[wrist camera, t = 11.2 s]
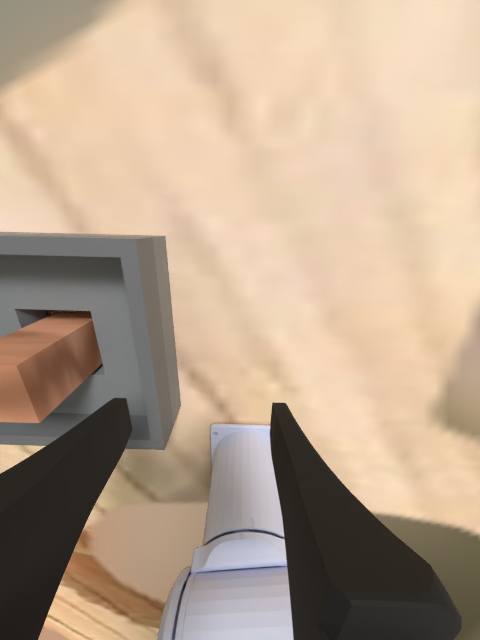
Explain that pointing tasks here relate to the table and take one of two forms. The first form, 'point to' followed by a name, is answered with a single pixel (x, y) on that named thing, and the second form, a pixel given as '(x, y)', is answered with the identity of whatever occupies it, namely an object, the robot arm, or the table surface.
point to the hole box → (98, 325)
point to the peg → (45, 365)
